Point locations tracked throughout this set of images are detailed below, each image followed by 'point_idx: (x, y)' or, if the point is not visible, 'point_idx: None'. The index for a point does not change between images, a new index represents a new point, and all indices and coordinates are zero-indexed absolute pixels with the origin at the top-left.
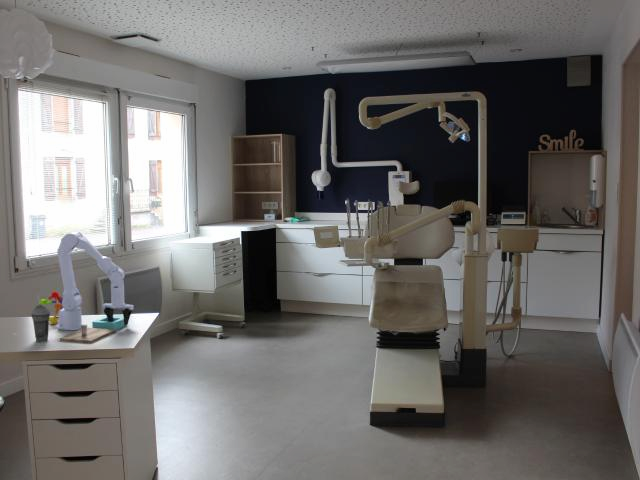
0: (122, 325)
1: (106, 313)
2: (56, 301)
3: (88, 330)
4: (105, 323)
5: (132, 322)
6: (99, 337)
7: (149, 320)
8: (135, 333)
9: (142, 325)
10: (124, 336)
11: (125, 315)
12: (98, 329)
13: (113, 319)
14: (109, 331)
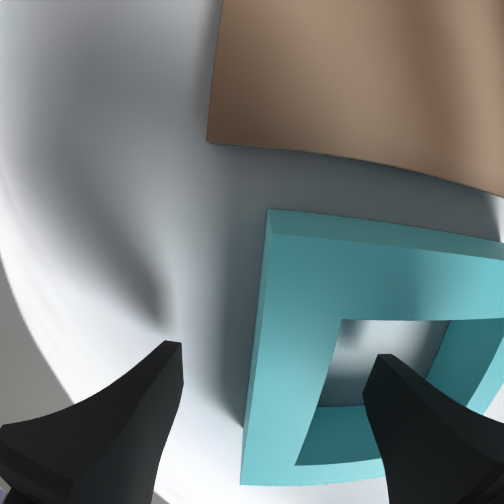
0: (249, 386)
1: (489, 429)
2: None
3: (501, 87)
4: (429, 246)
5: (240, 473)
6: None
7: (161, 491)
8: (9, 158)
9: None
10: (57, 30)
11: (77, 417)
12: (442, 123)
13: (376, 446)
14: (245, 28)
